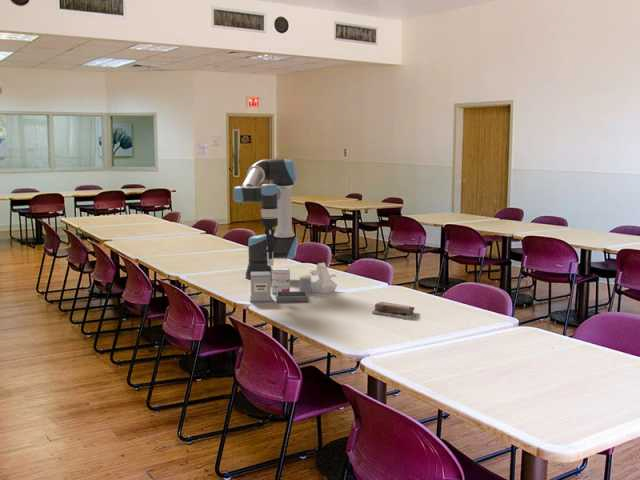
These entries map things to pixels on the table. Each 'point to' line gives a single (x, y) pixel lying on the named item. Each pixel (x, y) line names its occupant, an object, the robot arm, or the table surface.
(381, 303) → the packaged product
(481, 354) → the table surface
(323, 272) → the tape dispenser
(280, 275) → the ink box
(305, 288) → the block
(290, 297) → the tray
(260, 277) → the unit
